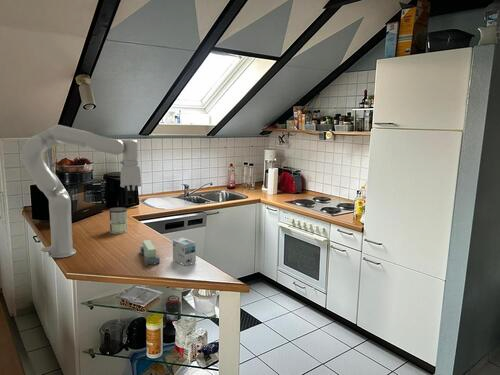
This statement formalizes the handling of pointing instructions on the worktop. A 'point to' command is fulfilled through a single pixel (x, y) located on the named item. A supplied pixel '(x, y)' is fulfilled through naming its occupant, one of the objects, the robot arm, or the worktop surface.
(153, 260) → the end caps
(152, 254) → the slat
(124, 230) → the coffee can
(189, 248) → the light bulb box
